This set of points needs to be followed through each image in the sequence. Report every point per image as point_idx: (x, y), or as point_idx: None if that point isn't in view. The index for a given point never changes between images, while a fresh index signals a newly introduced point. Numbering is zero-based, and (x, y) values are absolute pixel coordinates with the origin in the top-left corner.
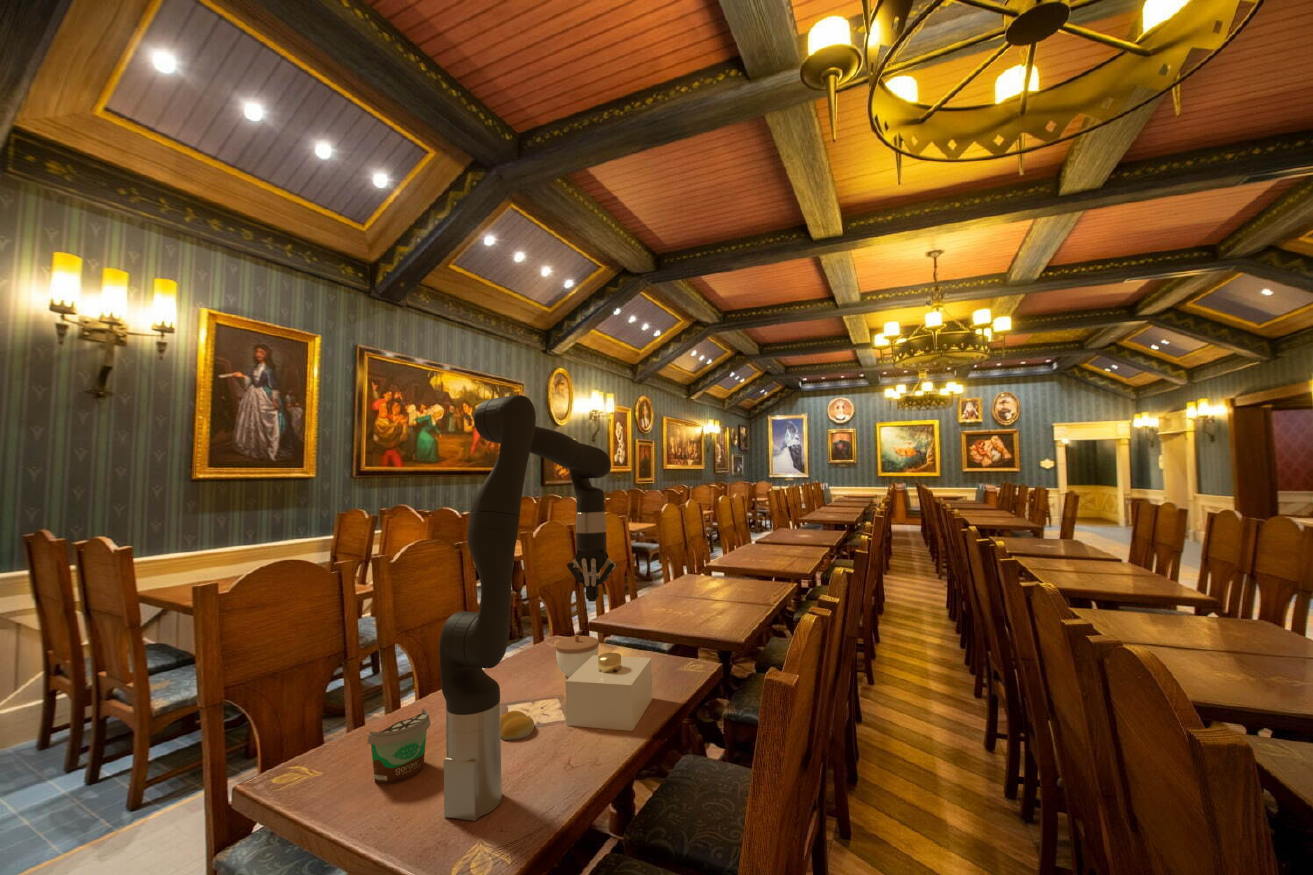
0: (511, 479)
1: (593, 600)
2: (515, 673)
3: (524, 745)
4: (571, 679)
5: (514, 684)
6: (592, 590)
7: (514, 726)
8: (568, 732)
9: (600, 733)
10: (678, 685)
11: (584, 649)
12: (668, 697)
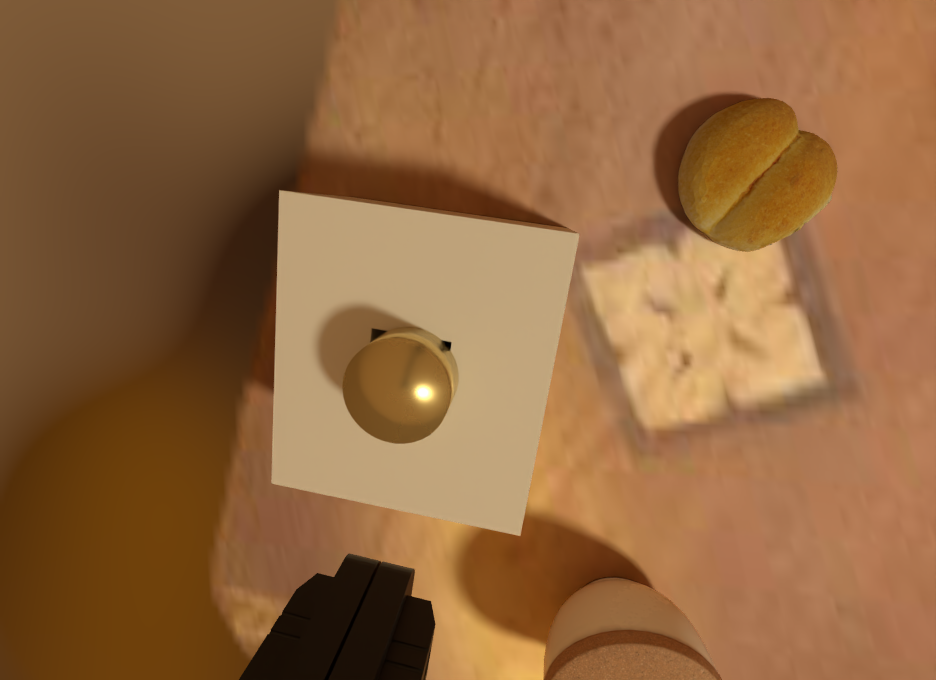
0: None
1: (347, 558)
2: (858, 641)
3: (682, 74)
4: (554, 252)
5: (839, 549)
6: (300, 664)
7: (748, 111)
8: (550, 177)
9: (444, 175)
10: (278, 500)
11: (587, 645)
12: None
